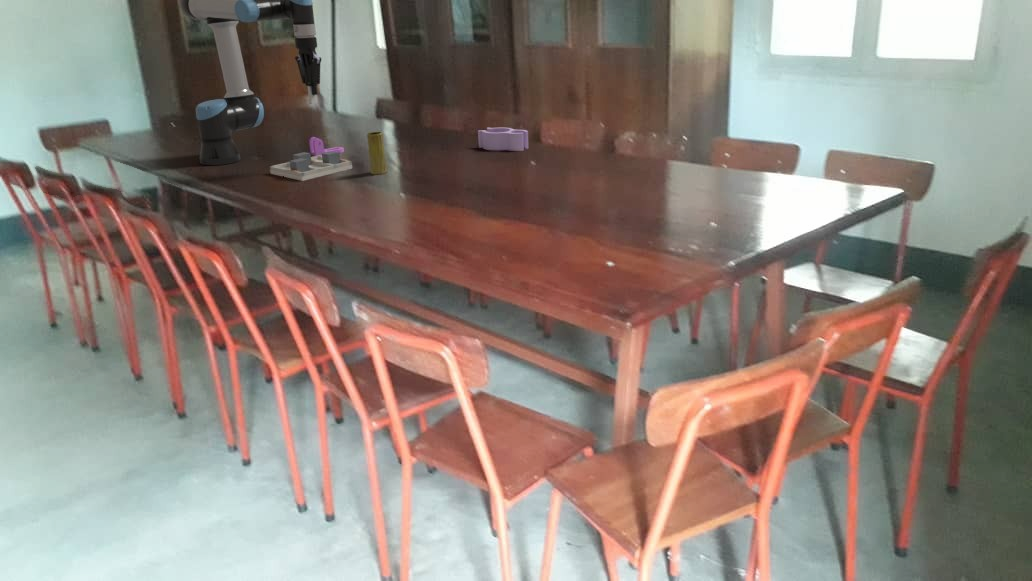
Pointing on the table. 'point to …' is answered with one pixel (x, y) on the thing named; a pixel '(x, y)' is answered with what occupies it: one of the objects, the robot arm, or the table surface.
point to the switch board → (311, 169)
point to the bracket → (321, 147)
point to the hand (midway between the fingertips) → (313, 103)
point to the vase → (376, 153)
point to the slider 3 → (331, 157)
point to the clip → (503, 139)
